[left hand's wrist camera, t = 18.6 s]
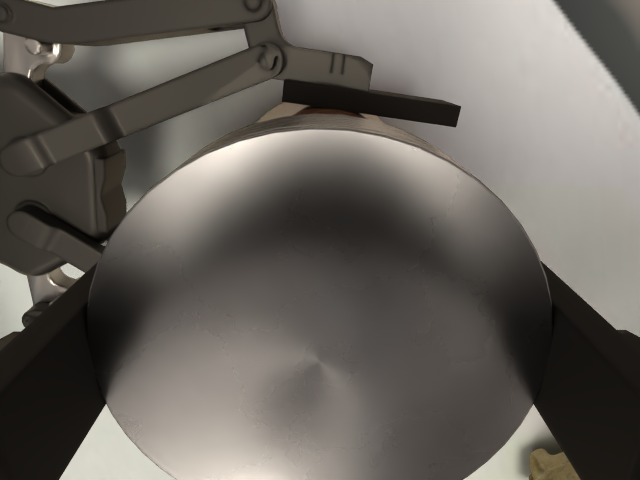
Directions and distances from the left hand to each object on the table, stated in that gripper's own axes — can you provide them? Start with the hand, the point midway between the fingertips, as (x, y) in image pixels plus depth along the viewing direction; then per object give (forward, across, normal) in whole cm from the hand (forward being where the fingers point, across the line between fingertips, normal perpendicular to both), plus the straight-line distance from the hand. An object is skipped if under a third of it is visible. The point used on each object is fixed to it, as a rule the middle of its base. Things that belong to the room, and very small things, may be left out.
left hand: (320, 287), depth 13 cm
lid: (-3, 0, 0) cm, 3 cm away
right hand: (+6, -4, +1) cm, 8 cm away
